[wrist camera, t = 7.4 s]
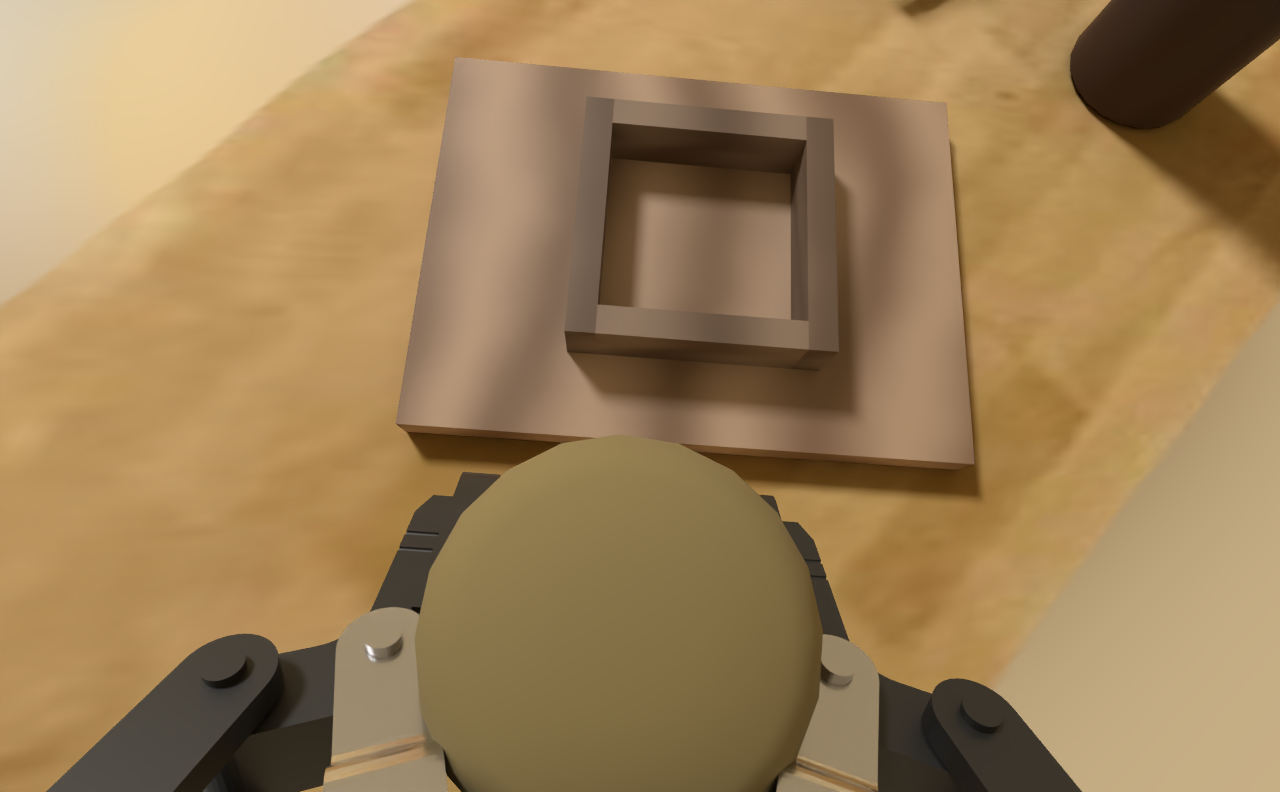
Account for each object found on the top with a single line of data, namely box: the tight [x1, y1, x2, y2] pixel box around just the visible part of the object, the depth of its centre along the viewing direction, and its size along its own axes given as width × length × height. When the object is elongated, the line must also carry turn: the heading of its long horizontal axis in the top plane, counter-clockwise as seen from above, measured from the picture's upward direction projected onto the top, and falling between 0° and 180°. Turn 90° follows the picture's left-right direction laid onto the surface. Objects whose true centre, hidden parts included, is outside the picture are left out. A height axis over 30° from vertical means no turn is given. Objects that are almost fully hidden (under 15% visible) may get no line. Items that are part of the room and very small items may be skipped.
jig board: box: [396, 57, 975, 470], centre depth 29 cm, size 24×18×4 cm
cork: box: [415, 434, 823, 792], centre depth 12 cm, size 6×6×11 cm
